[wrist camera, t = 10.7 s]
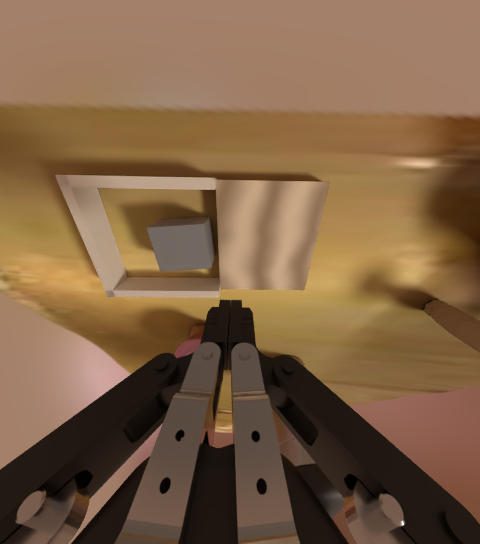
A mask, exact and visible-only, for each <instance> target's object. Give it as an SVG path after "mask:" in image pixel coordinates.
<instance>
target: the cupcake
mask: <svg viewBox="0 0 480 544" xmlns="http://www.w3.org/2000/svg"><path fill="white" fill-rule="evenodd" d="M204 326H205V325H194V326H193V327H192V329H191V331H190V333H189V336H188V338H187V339H186V341H184V342H182V343H181V344H180V345H179V346H178V348H177V349H176V351H175V354H174V355H175V357H176V358H179V357H183V356H186V355H189V354H191V353H193V352H194V351H195V349H196V348H197V347H198V346H199V345H200V342H201V338H202V334H203V330H204Z"/></svg>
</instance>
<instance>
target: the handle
mask: <svg viewBox="0 0 480 544" xmlns="http://www.w3.org/2000/svg"><path fill="white" fill-rule="evenodd" d="M424 312H425V313H426V314H428V315H429V316H430V315H431V317H432V318H433V319H434V320H435V321H436V322H437V323H438V324H439V325H441V326H442V327H443V328H444V329H446V330H447V331H448V332H450V333H451V334H452V335H454V336H455V337H457V338H458V339H460V340H461V341H463V342H464V343H466V344H467V345H469V346H470V347H472V348H473V349H475V350H476V351H478V352H480V321H479V320H478V319H476V318H474V317H473V316H471V315H469V314H467V313H465V312H463V311H461V310H459V309H457V308H455V307H453V306H451V305H448V304H447V303H445V302H443V301H440V300H439V301H438V300H432V301H431V302H429V303H427V304H425V309H424Z"/></svg>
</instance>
